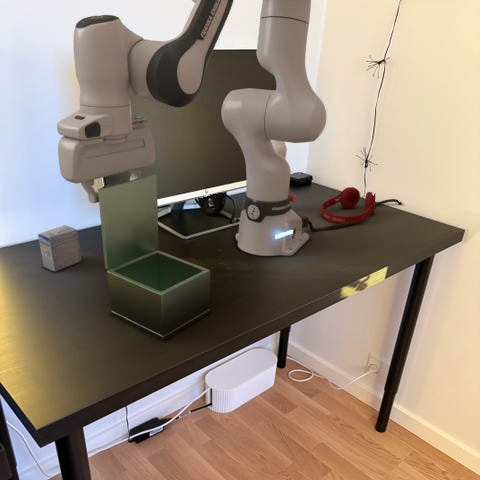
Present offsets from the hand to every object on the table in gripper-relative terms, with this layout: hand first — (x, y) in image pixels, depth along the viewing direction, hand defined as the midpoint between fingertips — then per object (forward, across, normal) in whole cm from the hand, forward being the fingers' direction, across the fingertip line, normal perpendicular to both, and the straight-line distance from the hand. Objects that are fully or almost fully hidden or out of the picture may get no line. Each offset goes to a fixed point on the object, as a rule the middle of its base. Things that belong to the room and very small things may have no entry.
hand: (114, 196), depth 94 cm
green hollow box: (+22, 0, +11) cm, 25 cm away
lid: (+4, 0, +5) cm, 6 cm away
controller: (+22, -54, -21) cm, 62 cm away
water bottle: (+22, -69, -8) cm, 73 cm away
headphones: (+22, -84, +13) cm, 88 cm away
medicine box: (+22, -1, -23) cm, 32 cm away
